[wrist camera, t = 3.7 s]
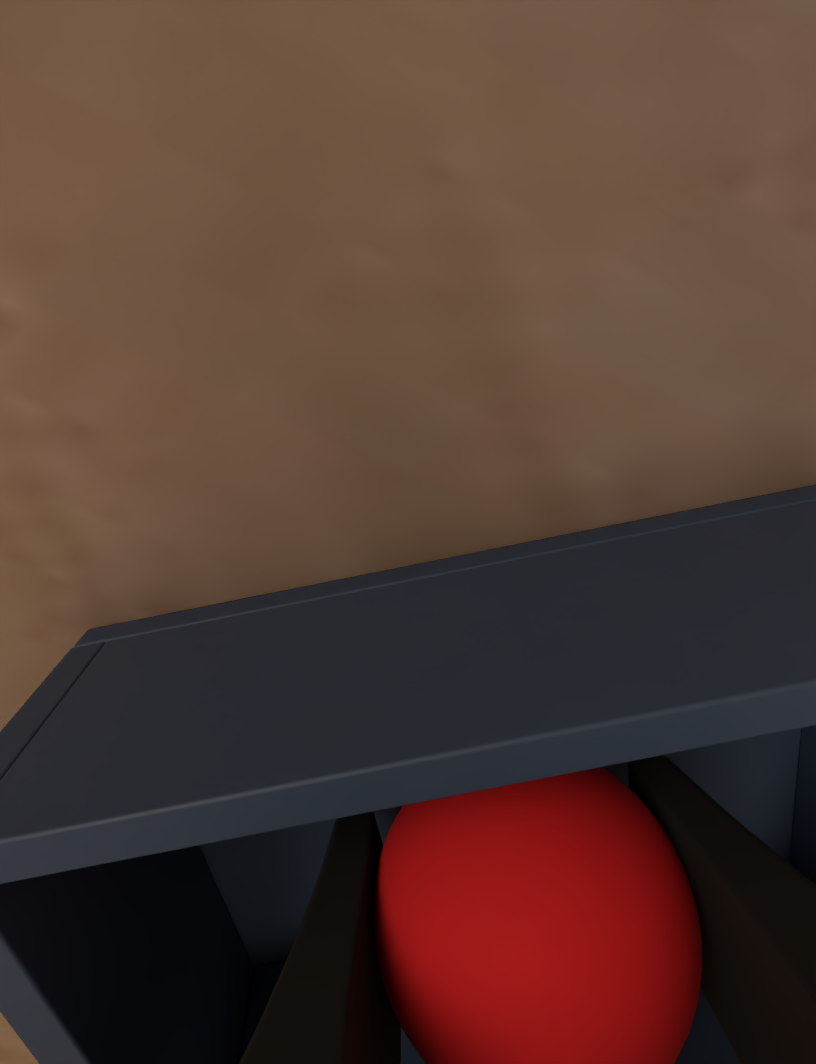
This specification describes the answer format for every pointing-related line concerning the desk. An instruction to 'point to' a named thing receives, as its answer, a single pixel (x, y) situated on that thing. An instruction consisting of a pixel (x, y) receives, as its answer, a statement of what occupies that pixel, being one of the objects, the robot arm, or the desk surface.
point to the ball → (538, 926)
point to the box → (377, 753)
